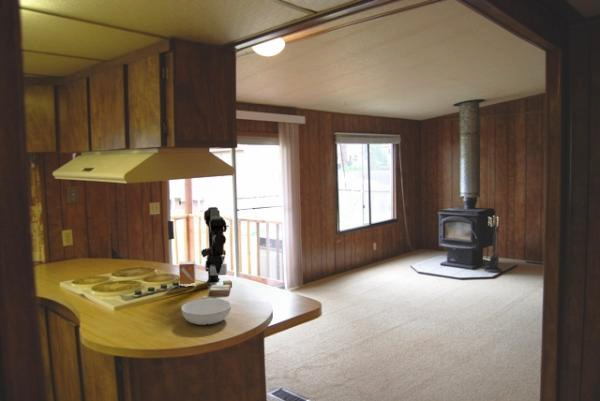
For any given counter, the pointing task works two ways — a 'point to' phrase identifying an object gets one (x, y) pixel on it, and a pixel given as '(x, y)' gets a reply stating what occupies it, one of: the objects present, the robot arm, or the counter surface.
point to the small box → (187, 272)
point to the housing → (222, 271)
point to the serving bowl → (206, 311)
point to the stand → (219, 290)
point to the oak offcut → (227, 283)
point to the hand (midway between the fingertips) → (218, 272)
